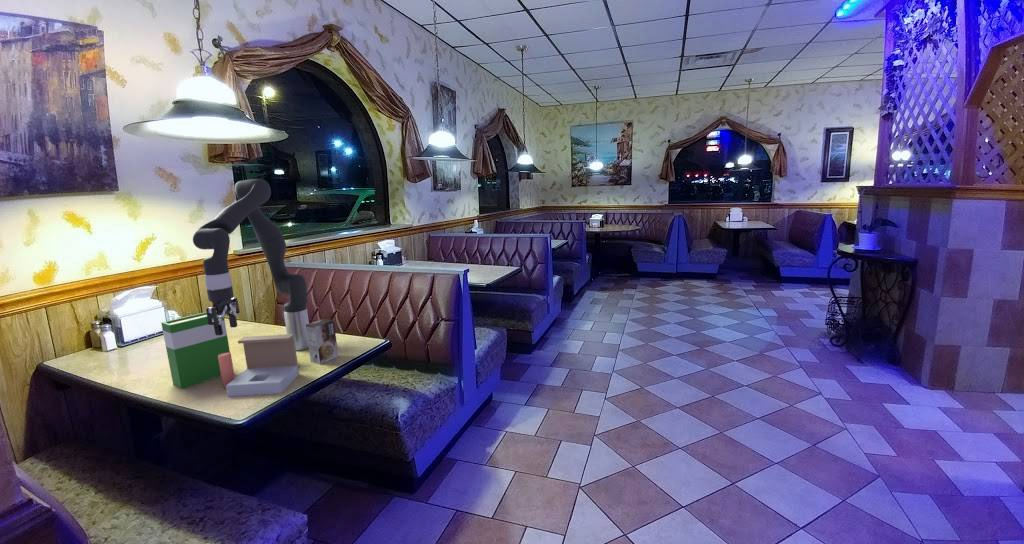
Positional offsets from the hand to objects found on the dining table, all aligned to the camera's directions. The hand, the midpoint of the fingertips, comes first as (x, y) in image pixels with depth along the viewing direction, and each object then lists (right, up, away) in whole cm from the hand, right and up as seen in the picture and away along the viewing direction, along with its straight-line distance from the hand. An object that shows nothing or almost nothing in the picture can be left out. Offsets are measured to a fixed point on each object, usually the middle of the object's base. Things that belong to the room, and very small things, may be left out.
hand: (226, 331), depth 163 cm
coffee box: (+23, -15, +27) cm, 39 cm away
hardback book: (-17, -20, +13) cm, 29 cm away
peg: (-2, -21, +5) cm, 21 cm away
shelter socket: (+11, -20, +5) cm, 23 cm away
